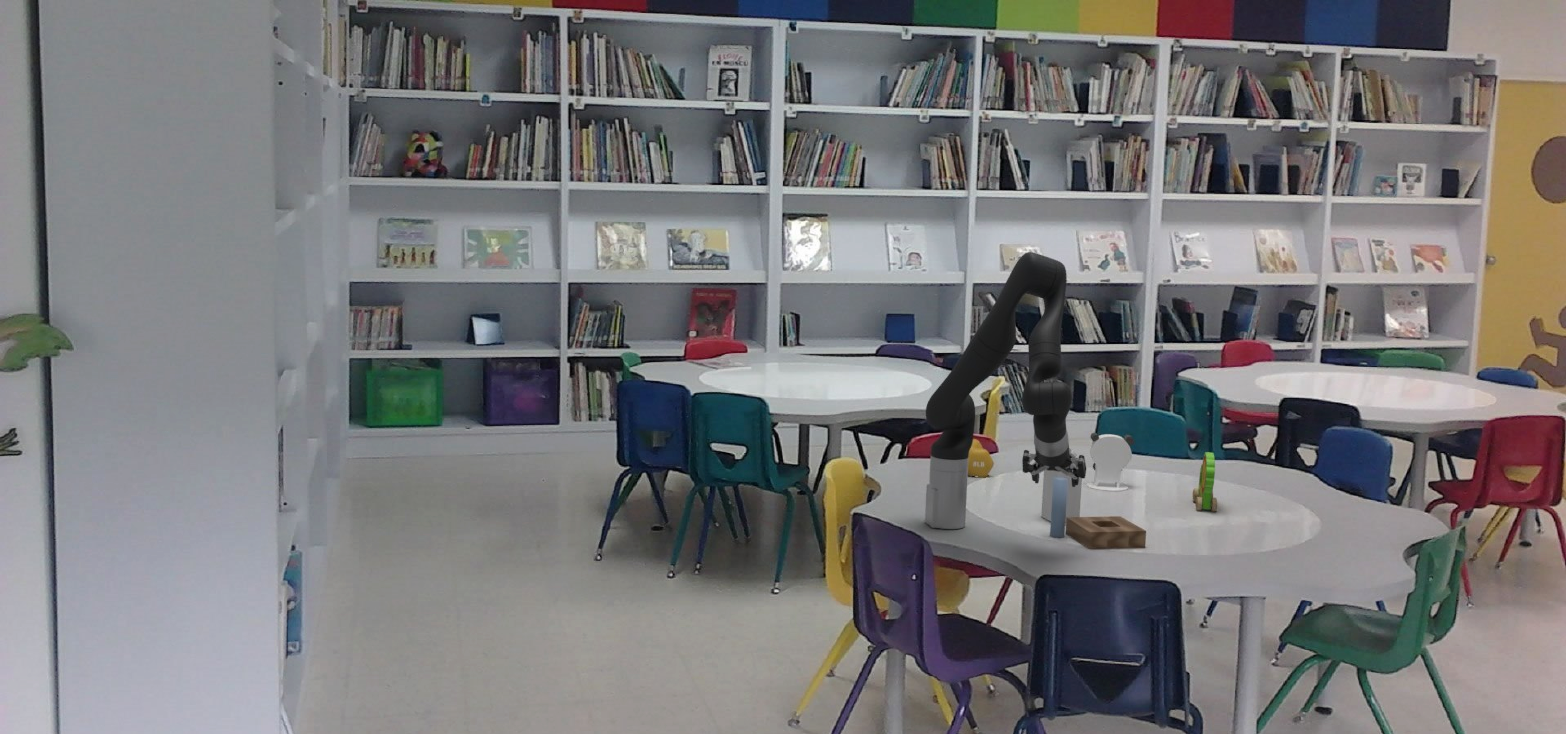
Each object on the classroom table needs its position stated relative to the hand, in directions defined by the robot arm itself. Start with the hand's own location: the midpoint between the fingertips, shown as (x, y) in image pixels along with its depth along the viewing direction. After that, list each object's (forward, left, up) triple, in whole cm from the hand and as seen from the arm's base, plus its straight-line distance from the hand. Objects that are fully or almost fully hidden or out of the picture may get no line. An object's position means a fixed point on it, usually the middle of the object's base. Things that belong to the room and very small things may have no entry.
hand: (1055, 482), depth 320 cm
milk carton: (+11, +23, -15) cm, 30 cm away
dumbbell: (+9, +81, -15) cm, 83 cm away
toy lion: (+57, +33, -15) cm, 67 cm away
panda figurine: (+41, +58, -15) cm, 72 cm away
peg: (+5, +8, -15) cm, 17 cm away
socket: (+14, +3, -15) cm, 21 cm away
